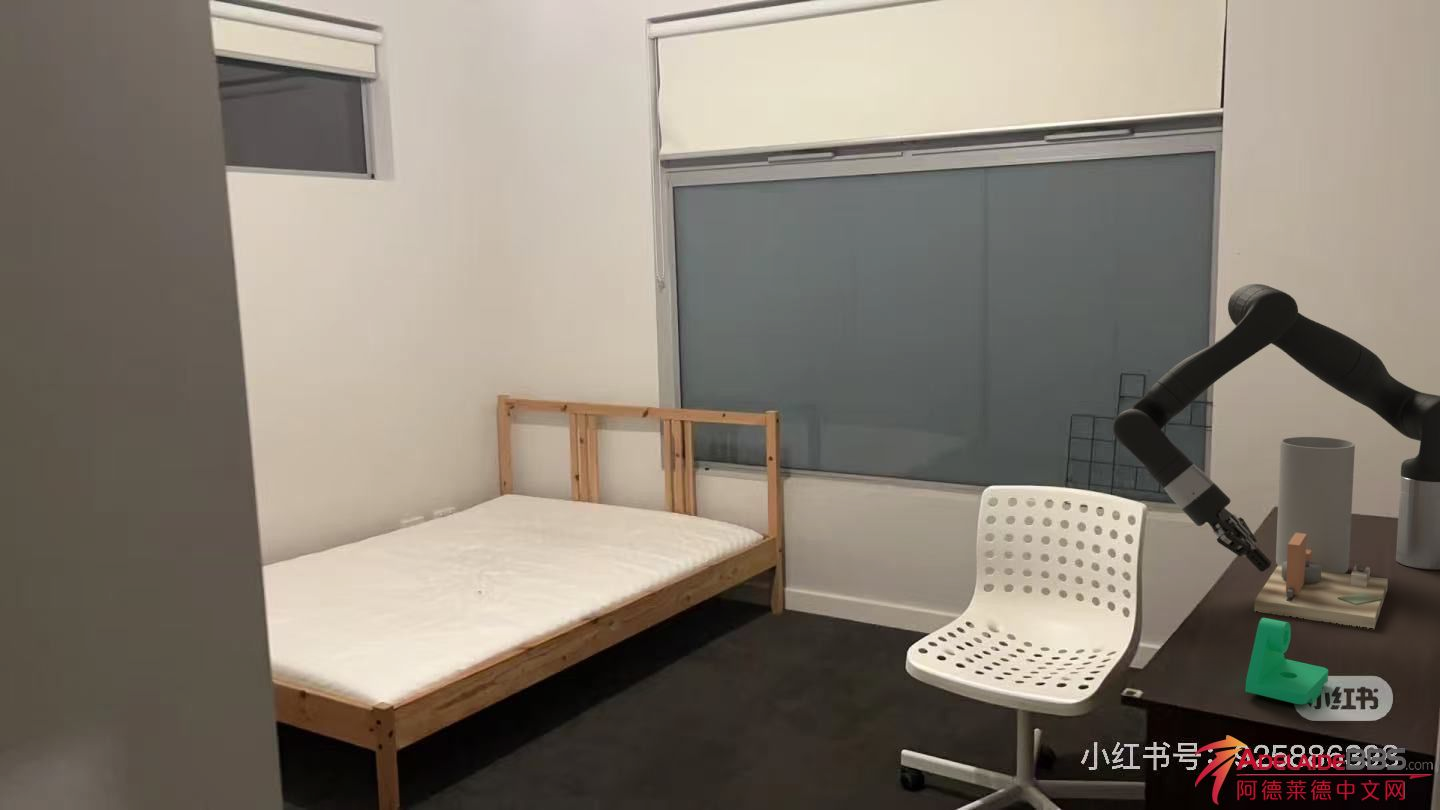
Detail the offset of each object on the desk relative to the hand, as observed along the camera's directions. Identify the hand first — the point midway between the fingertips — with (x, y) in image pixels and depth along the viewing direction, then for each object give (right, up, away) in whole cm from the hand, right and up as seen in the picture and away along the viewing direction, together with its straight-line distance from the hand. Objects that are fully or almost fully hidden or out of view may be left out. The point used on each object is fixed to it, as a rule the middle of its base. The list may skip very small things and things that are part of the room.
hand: (1267, 567), depth 196 cm
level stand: (+9, -5, -2) cm, 10 cm away
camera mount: (-17, -12, -40) cm, 45 cm away
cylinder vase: (+17, -3, +16) cm, 23 cm away
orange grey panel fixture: (+5, -3, 0) cm, 6 cm away
